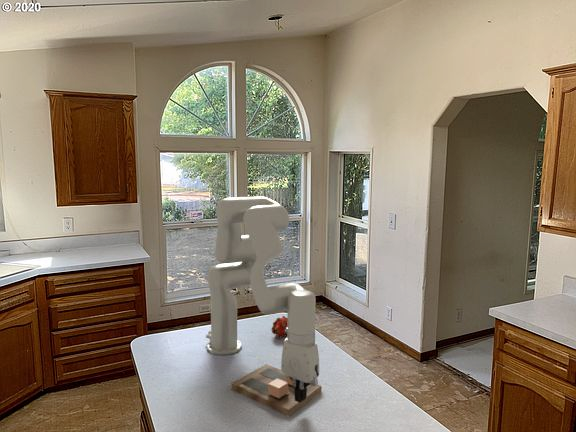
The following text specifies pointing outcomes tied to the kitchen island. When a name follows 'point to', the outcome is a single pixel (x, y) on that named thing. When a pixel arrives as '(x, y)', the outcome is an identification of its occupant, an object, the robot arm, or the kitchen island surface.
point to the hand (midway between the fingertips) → (300, 399)
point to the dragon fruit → (280, 327)
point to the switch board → (257, 390)
